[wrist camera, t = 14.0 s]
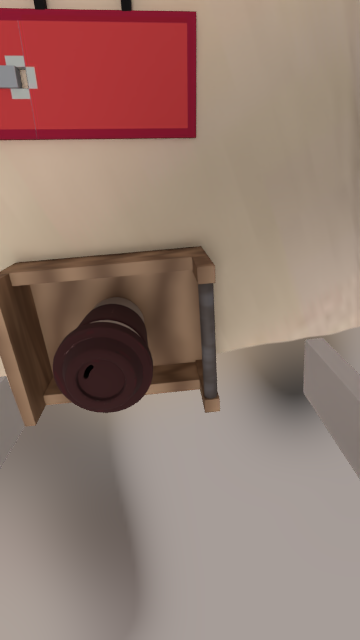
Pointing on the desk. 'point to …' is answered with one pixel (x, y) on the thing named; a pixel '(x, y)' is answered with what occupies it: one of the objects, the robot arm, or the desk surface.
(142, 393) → the coffee cup
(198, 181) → the desk surface
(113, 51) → the red board with handle
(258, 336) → the desk surface
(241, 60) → the desk surface
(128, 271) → the wooden crate
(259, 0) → the desk surface
